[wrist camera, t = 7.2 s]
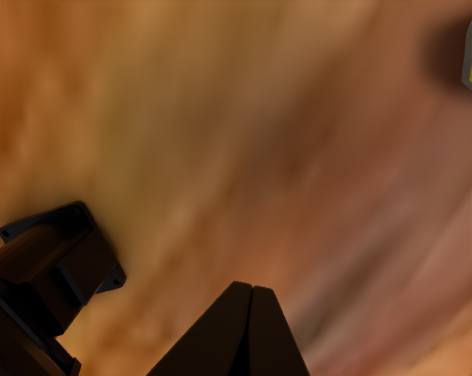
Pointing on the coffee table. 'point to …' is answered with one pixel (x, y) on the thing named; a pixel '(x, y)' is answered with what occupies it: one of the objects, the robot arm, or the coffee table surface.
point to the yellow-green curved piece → (468, 60)
